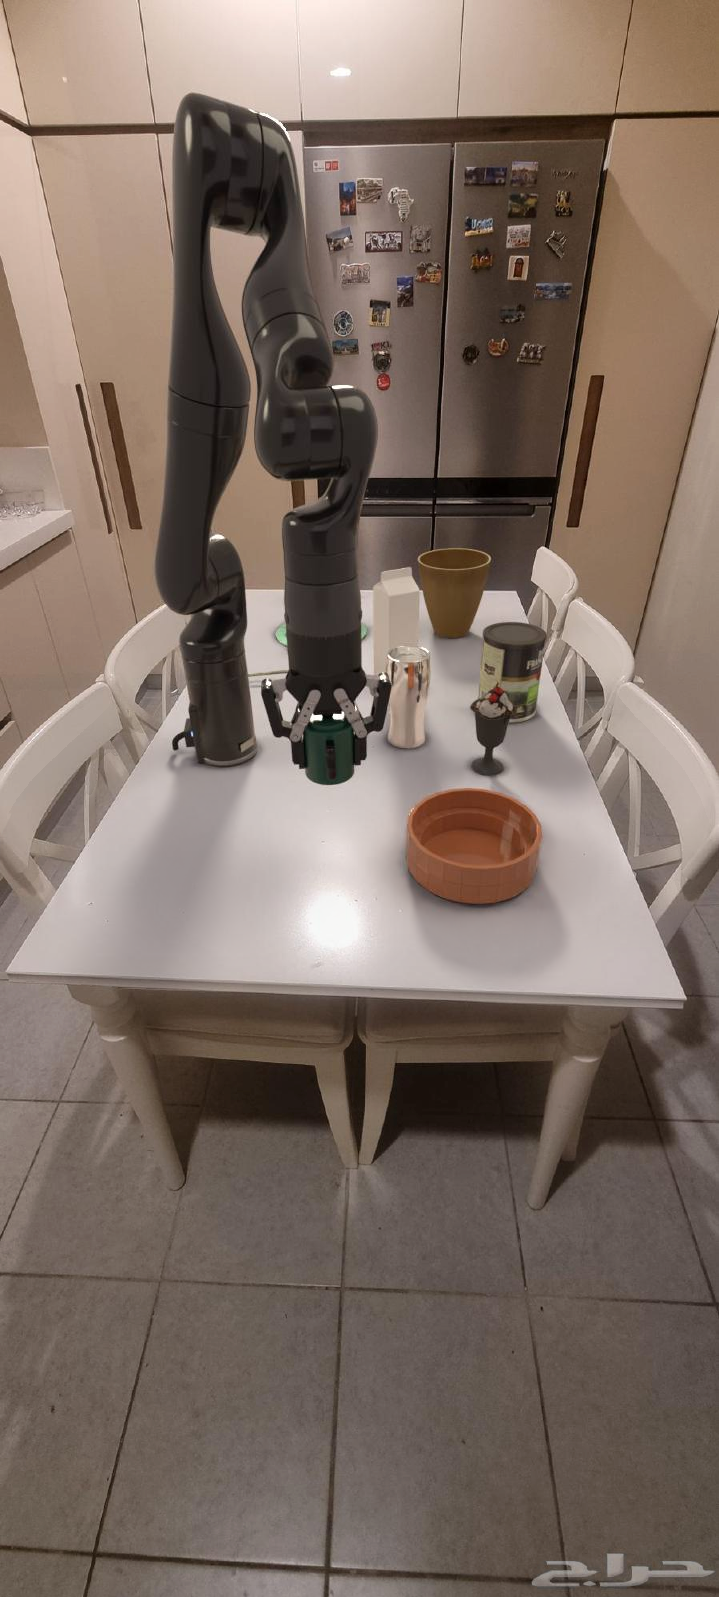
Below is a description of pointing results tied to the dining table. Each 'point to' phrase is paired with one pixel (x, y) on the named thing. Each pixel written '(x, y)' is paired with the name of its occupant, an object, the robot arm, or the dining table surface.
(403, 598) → the milk
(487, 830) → the bowl
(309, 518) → the robot arm
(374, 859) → the dining table surface
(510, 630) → the coffee can
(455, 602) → the plant pot
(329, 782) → the kettle
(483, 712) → the sundae
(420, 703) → the beer glass
